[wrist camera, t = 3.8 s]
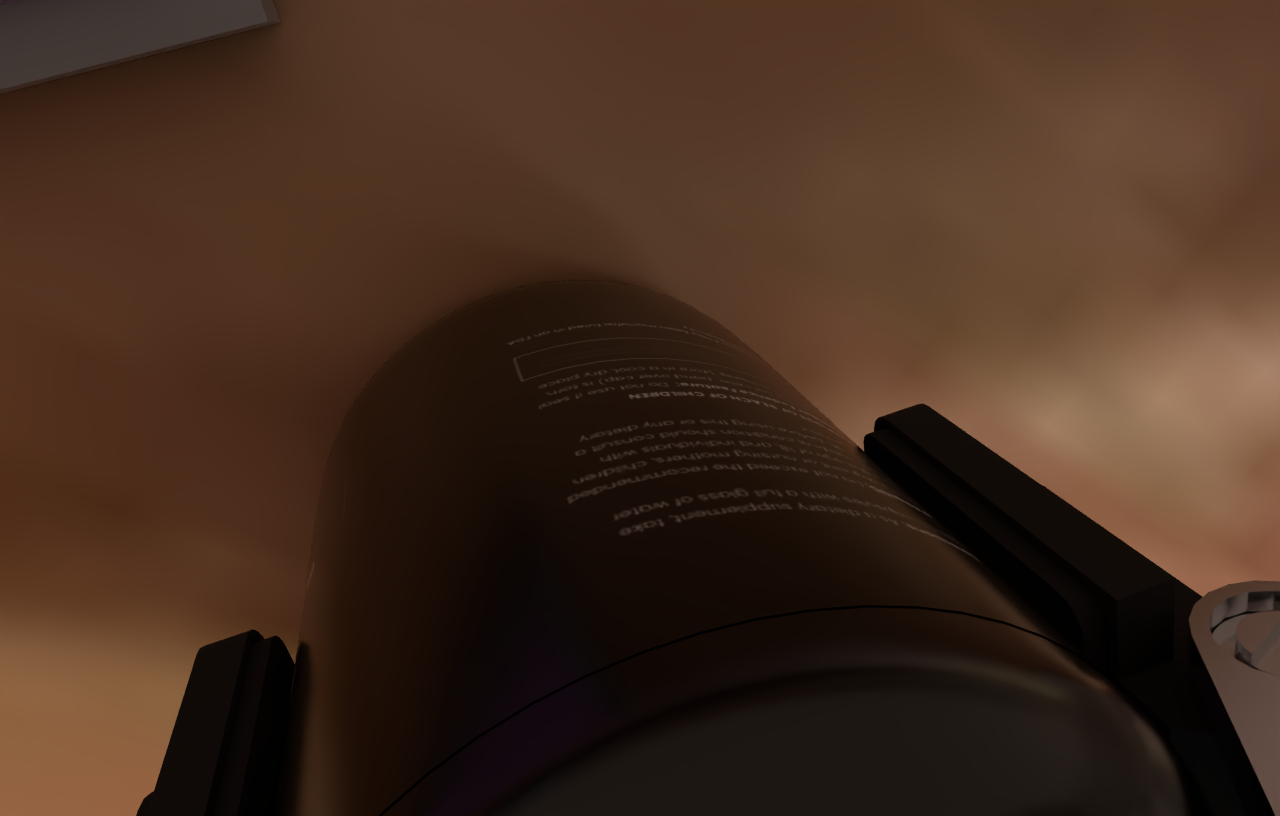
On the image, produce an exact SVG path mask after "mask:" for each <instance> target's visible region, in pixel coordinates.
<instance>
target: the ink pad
mask: <svg viewBox="0 0 1280 816" xmlns="http://www.w3.org/2000/svg"><path fill="white" fill-rule="evenodd" d="M280 22H281V21H280V19H279V16H278V13H277V11H276V8H275V5H274V3H273V0H0V94H2V93H6V92H10V91H14V90H18V89H21V88H25V87H29V86H33V85H37V84H41V83H45V82H49V81H53V80H57V79H61V78H65V77H69V76H72V75H76V74H80V73H84V72H88V71H92V70H96V69H100V68H104V67H108V66H112V65H116V64H120V63H123V62H127V61H131V60H135V59H139V58H143V57H147V56H151V55H155V54H159V53H163V52H167V51H170V50H174V49H178V48H182V47H186V46H190V45H194V44H198V43H202V42H206V41H210V40H214V39H218V38H221V37H225V36H229V35H233V34H237V33H241V32H245V31H249V30H253V29H257V28H261V27H265V26H268V25H272V24H276V23H280Z"/></svg>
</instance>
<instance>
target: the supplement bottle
mask: <svg viewBox="0 0 1280 816" xmlns="http://www.w3.org/2000/svg"><path fill="white" fill-rule="evenodd" d="M274 816H1216V814H1215V811H1214V809H1213V807H1212V805H1211V803H1210V801H1209V799H1208V798H1207V796H1206V794H1205V792H1204V790H1203V788H1202V786H1201V784H1200V782H1199V780H1198V778H1197V777H1196V775H1195V774H1194V772H1193V771H1192V769H1191V768H1190V766H1189V765H1188V763H1187V762H1186V761H1185V759H1184V758H1183V757H1182V755H1181V754H1180V753H1179V751H1178V750H1177V749H1176V747H1175V746H1174V745H1173V743H1172V742H1171V741H1170V740H1169V738H1168V737H1167V736H1166V735H1165V734H1164V733H1163V732H1162V731H1161V730H1160V729H1159V728H1158V727H1157V725H1156V724H1155V723H1154V722H1153V721H1152V720H1151V719H1150V718H1149V717H1148V716H1147V715H1146V714H1145V713H1144V712H1143V711H1142V710H1141V709H1140V708H1139V707H1138V706H1137V705H1136V704H1135V703H1134V702H1133V701H1132V700H1131V699H1130V698H1129V696H1128V695H1127V694H1126V693H1125V692H1124V691H1123V690H1122V689H1121V688H1120V687H1119V686H1118V685H1117V684H1116V683H1115V682H1114V681H1112V680H1111V679H1110V678H1109V677H1108V676H1107V675H1106V674H1105V673H1104V672H1103V671H1102V670H1101V669H1100V668H1099V667H1098V666H1097V665H1096V664H1095V663H1094V662H1092V661H1091V660H1090V659H1089V658H1088V657H1087V656H1086V655H1085V654H1084V653H1083V652H1082V651H1081V650H1080V649H1079V648H1078V647H1076V646H1075V645H1074V644H1073V643H1072V642H1071V641H1070V640H1069V639H1068V638H1067V637H1066V636H1064V635H1063V634H1062V633H1061V632H1060V631H1059V630H1058V629H1057V628H1056V627H1055V626H1054V625H1053V624H1051V623H1050V622H1049V621H1048V620H1047V619H1046V618H1045V617H1044V616H1043V615H1042V614H1041V613H1039V612H1038V611H1037V610H1036V609H1035V608H1034V607H1033V606H1032V605H1031V604H1030V603H1029V602H1028V601H1026V600H1025V599H1024V598H1023V597H1022V596H1021V595H1020V594H1019V593H1018V592H1017V591H1016V590H1014V589H1013V588H1012V587H1011V586H1010V585H1009V584H1008V583H1007V582H1006V581H1005V580H1004V579H1002V578H1001V577H1000V576H999V575H998V574H997V573H996V572H995V571H994V570H993V569H992V568H990V567H989V566H988V565H987V564H986V563H985V562H984V561H983V560H982V559H981V558H980V557H978V556H977V555H976V554H975V553H974V552H973V551H972V550H971V549H970V548H969V547H968V546H966V545H965V544H964V543H963V542H962V541H961V540H960V539H959V538H958V537H957V536H956V535H954V534H953V533H952V532H951V531H950V530H949V529H948V528H947V527H946V526H945V525H944V524H942V523H941V522H940V521H939V520H938V519H937V518H936V517H935V516H934V515H933V514H932V513H930V512H929V511H928V510H927V509H926V508H925V507H924V506H923V505H922V504H921V503H920V502H918V501H917V500H916V499H915V498H914V497H913V496H912V495H911V494H910V493H909V492H908V491H906V490H905V489H904V488H903V487H902V486H901V485H900V484H899V483H898V482H897V481H896V480H894V479H893V478H892V477H891V476H890V475H889V474H888V473H887V472H886V471H885V470H884V469H882V468H881V467H880V466H879V465H878V464H877V463H876V462H875V461H874V460H873V459H872V458H870V457H869V456H868V455H867V454H866V453H865V452H864V451H863V450H862V449H861V448H860V447H858V446H857V445H856V444H855V443H854V442H853V441H852V440H851V439H850V438H849V437H848V436H846V435H845V434H844V433H843V432H842V431H841V430H840V429H839V428H838V427H837V426H836V425H834V424H833V423H832V422H831V421H830V420H829V419H828V418H827V417H826V416H825V415H824V414H822V413H821V412H820V411H819V410H818V409H817V408H816V407H815V406H814V405H813V404H812V403H810V402H809V401H808V400H807V399H806V398H805V397H804V396H803V395H802V394H801V393H800V392H798V391H797V390H796V389H795V388H794V387H793V386H792V385H791V384H790V383H789V382H788V381H786V380H785V379H784V378H783V377H782V376H781V375H780V374H779V373H778V372H777V371H776V370H774V369H773V368H772V367H771V366H770V365H769V364H768V363H767V362H766V361H765V360H763V359H762V358H761V357H760V356H759V355H758V354H756V353H755V352H754V351H753V350H751V349H750V348H749V347H748V346H747V345H746V344H745V343H744V342H742V341H741V340H740V339H739V338H738V337H737V336H735V335H734V334H733V333H731V332H730V331H729V330H728V329H726V328H725V327H724V326H722V325H721V324H720V323H718V322H717V321H715V320H714V319H712V318H710V317H709V316H707V315H705V314H704V313H702V312H700V311H699V310H697V309H695V308H694V307H692V306H690V305H688V304H685V303H683V302H681V301H679V300H677V299H675V298H672V297H670V296H667V295H664V294H661V293H658V292H655V291H652V290H649V289H646V288H641V287H637V286H633V285H628V284H623V283H615V282H607V281H594V280H569V281H555V282H546V283H540V284H534V285H528V286H522V287H519V288H515V289H511V290H508V291H504V292H500V293H497V294H494V295H492V296H489V297H486V298H484V299H481V300H478V301H476V302H473V303H471V304H469V305H467V306H465V307H463V308H461V309H459V310H457V311H455V312H453V313H451V314H449V315H447V316H446V317H444V318H442V319H441V320H439V321H437V322H436V323H434V324H433V325H431V326H429V327H428V328H426V329H425V330H424V331H422V332H421V333H420V334H418V335H417V336H416V337H414V338H413V339H412V340H410V341H409V342H408V343H406V344H405V345H404V346H403V347H402V348H401V349H400V350H399V351H398V352H397V353H395V354H394V355H393V356H392V357H391V358H390V359H389V360H388V361H387V362H386V363H385V364H384V365H383V366H382V367H381V369H380V370H379V371H378V372H377V373H376V374H375V375H374V377H373V378H372V379H371V380H370V381H369V383H368V384H367V385H366V387H365V388H364V389H363V391H362V392H361V394H360V395H359V396H358V398H357V399H356V401H355V402H354V404H353V406H352V408H351V409H350V411H349V413H348V415H347V416H346V418H345V420H344V422H343V424H342V426H341V428H340V431H339V433H338V435H337V438H336V440H335V442H334V445H333V448H332V450H331V453H330V457H329V460H328V463H327V466H326V470H325V473H324V477H323V482H322V488H321V493H320V498H319V504H318V510H317V515H316V521H315V526H314V532H313V539H312V546H311V553H310V560H309V568H308V575H307V582H306V589H305V597H304V604H303V611H302V618H301V626H300V633H299V640H298V647H297V655H296V662H295V669H294V676H293V684H292V691H291V698H290V705H289V713H288V720H287V727H286V734H285V742H284V749H283V756H282V763H281V771H280V778H279V785H278V792H277V800H276V807H275V814H274Z"/></svg>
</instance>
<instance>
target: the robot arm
mask: <svg viewBox="0 0 1280 816" xmlns="http://www.w3.org/2000/svg"><path fill="white" fill-rule="evenodd" d="M864 451H865V453H866V454H867V455H868V456H869V457H870V458H872V459H873V460H874V461H875V462H876V463H877V464H878V465H879V466H880V467H881V468H882V469H884V470H885V471H886V472H887V473H888V474H889V475H890V476H891V477H892V478H893V479H894V480H896V481H897V482H898V483H899V484H900V485H901V486H902V487H903V488H904V489H905V490H906V491H908V492H909V493H910V494H911V495H912V496H913V497H914V498H915V499H916V500H917V501H918V502H920V503H921V504H922V505H923V506H924V507H925V508H926V509H927V510H928V511H929V512H930V513H932V514H933V515H934V516H935V517H936V518H937V519H938V520H939V521H940V522H941V523H942V524H944V525H945V526H946V527H947V528H948V529H949V530H950V531H951V532H952V533H953V534H954V535H956V536H957V537H958V538H959V539H960V540H961V541H962V542H963V543H964V544H965V545H966V546H968V547H969V548H970V549H971V550H972V551H973V552H974V553H975V554H976V555H977V556H978V557H980V558H981V559H982V560H983V561H984V562H985V563H986V564H987V565H988V566H989V567H990V568H992V569H993V570H994V571H995V572H996V573H997V574H998V575H999V576H1000V577H1001V578H1002V579H1004V580H1005V581H1006V582H1007V583H1008V584H1009V585H1010V586H1011V587H1012V588H1013V589H1014V590H1016V591H1017V592H1018V593H1019V594H1020V595H1021V596H1022V597H1023V598H1024V599H1025V600H1026V601H1028V602H1029V603H1030V604H1031V605H1032V606H1033V607H1034V608H1035V609H1036V610H1037V611H1038V612H1039V613H1041V614H1042V615H1043V616H1044V617H1045V618H1046V619H1047V620H1048V621H1049V622H1050V623H1051V624H1053V625H1054V626H1055V627H1056V628H1057V629H1058V630H1059V631H1060V632H1061V633H1062V634H1063V635H1064V636H1066V637H1067V638H1068V639H1069V640H1070V641H1071V642H1072V643H1073V644H1074V645H1075V646H1076V647H1078V648H1079V649H1080V650H1081V651H1082V652H1083V653H1084V654H1085V655H1086V656H1087V657H1088V658H1089V659H1090V660H1091V661H1092V662H1094V663H1095V664H1096V665H1097V666H1098V667H1099V668H1100V669H1101V670H1102V671H1103V672H1104V673H1105V674H1106V675H1107V676H1108V677H1109V678H1110V679H1111V680H1112V681H1114V682H1115V683H1116V684H1117V685H1118V686H1119V687H1120V688H1121V689H1122V690H1123V691H1124V692H1125V693H1126V694H1127V695H1128V696H1129V698H1130V699H1131V700H1132V701H1133V702H1134V703H1135V704H1136V705H1137V706H1138V707H1139V708H1140V709H1141V710H1142V711H1143V712H1144V713H1145V714H1146V715H1147V716H1148V717H1149V718H1150V719H1151V720H1152V721H1153V722H1154V723H1155V724H1156V725H1157V727H1158V728H1159V729H1160V730H1161V731H1162V732H1163V733H1164V734H1165V735H1166V736H1167V737H1168V738H1169V740H1170V741H1171V742H1172V743H1173V745H1174V746H1175V747H1176V749H1177V750H1178V751H1179V753H1180V754H1181V755H1182V757H1183V758H1184V759H1185V761H1186V762H1187V763H1188V765H1189V766H1190V768H1191V769H1192V771H1193V772H1194V774H1195V775H1196V777H1197V778H1198V780H1199V782H1200V784H1201V786H1202V788H1203V790H1204V792H1205V794H1206V796H1207V798H1208V799H1209V801H1210V803H1211V805H1212V807H1213V809H1214V811H1215V814H1216V816H1280V581H1257V580H1254V581H1247V582H1240V583H1234V584H1228V585H1226V586H1223V587H1221V588H1218V589H1215V590H1213V591H1210V592H1208V593H1207V594H1206V595H1205V596H1203V597H1202V596H1200V595H1199V594H1198V593H1196V592H1195V591H1193V590H1192V589H1190V588H1189V587H1188V586H1186V585H1185V584H1183V583H1182V582H1180V581H1179V580H1178V579H1176V578H1175V577H1173V576H1172V575H1170V574H1169V573H1168V572H1166V571H1165V570H1163V569H1162V568H1160V567H1159V566H1157V565H1156V564H1155V563H1153V562H1152V561H1150V560H1149V559H1147V558H1146V557H1145V556H1143V555H1142V554H1140V553H1139V552H1137V551H1136V550H1135V549H1133V548H1132V547H1130V546H1129V545H1127V544H1126V543H1125V542H1123V541H1122V540H1120V539H1119V538H1117V537H1116V536H1114V535H1113V534H1112V533H1110V532H1109V531H1107V530H1106V529H1104V528H1103V527H1102V526H1100V525H1099V524H1097V523H1096V522H1094V521H1093V520H1092V519H1090V518H1089V517H1087V516H1086V515H1084V514H1083V513H1082V512H1080V511H1079V510H1077V509H1076V508H1074V507H1073V506H1072V505H1070V504H1069V503H1067V502H1066V501H1064V500H1063V499H1061V498H1060V497H1059V496H1057V495H1056V494H1054V493H1053V492H1051V491H1050V490H1049V489H1047V488H1046V487H1044V486H1042V485H1040V484H1039V483H1038V482H1036V481H1035V480H1033V479H1032V478H1030V477H1029V476H1028V475H1026V474H1025V473H1023V472H1022V471H1020V470H1019V469H1018V468H1016V467H1015V466H1013V465H1012V464H1010V463H1009V462H1008V461H1006V460H1005V459H1003V458H1002V457H1000V456H999V455H997V454H996V453H995V452H993V451H992V450H990V449H989V448H987V447H986V446H985V445H983V444H982V443H980V442H979V441H977V440H976V439H975V438H973V437H972V436H970V435H969V434H967V433H966V432H965V431H963V430H962V429H960V428H959V427H957V426H956V425H955V424H953V423H952V422H950V421H949V420H947V419H946V418H945V417H943V416H942V415H940V414H939V413H937V412H936V411H935V410H933V409H932V408H930V407H929V406H927V405H925V404H918V405H915V406H912V407H909V408H906V409H903V410H900V411H897V412H894V413H891V414H888V415H885V416H882V417H879V418H878V419H877V420H876V421H875V426H874V432H872V433H869V434H866V436H865V437H864ZM294 669H295V664H294V662H293V660H292V658H291V656H290V654H289V652H288V650H287V648H286V646H285V644H284V643H283V641H282V640H281V639H280V638H279V637H278V636H273V637H270V638H267V639H264V638H263V636H262V635H261V634H260V633H259V632H258V631H256V630H250V631H247V632H244V633H241V634H238V635H235V636H232V637H229V638H226V639H224V640H221V641H218V642H215V643H212V644H209V645H206V646H203V647H201V648H200V649H199V651H198V653H197V655H196V658H195V662H194V665H193V668H192V671H191V674H190V678H189V681H188V684H187V687H186V690H185V694H184V697H183V700H182V703H181V706H180V710H179V713H178V716H177V719H176V722H175V726H174V729H173V732H172V735H171V738H170V742H169V745H168V748H167V751H166V754H165V758H164V761H163V764H162V767H161V771H160V774H159V777H158V780H157V783H156V787H155V790H154V792H151V793H150V794H149V795H148V796H147V797H145V798H144V799H143V802H142V804H141V806H140V808H139V810H138V812H137V815H136V816H274V814H275V807H276V800H277V792H278V785H279V778H280V771H281V763H282V756H283V749H284V742H285V734H286V727H287V720H288V713H289V705H290V698H291V691H292V684H293V676H294Z"/></svg>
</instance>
